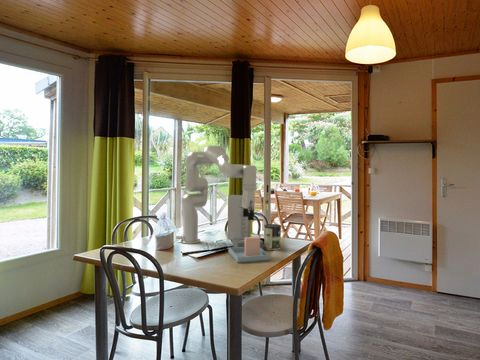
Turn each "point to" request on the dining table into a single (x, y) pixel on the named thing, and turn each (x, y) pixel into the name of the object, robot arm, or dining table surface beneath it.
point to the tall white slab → (237, 219)
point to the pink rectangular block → (252, 246)
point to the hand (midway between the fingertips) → (248, 218)
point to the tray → (241, 258)
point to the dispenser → (243, 242)
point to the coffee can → (272, 236)
